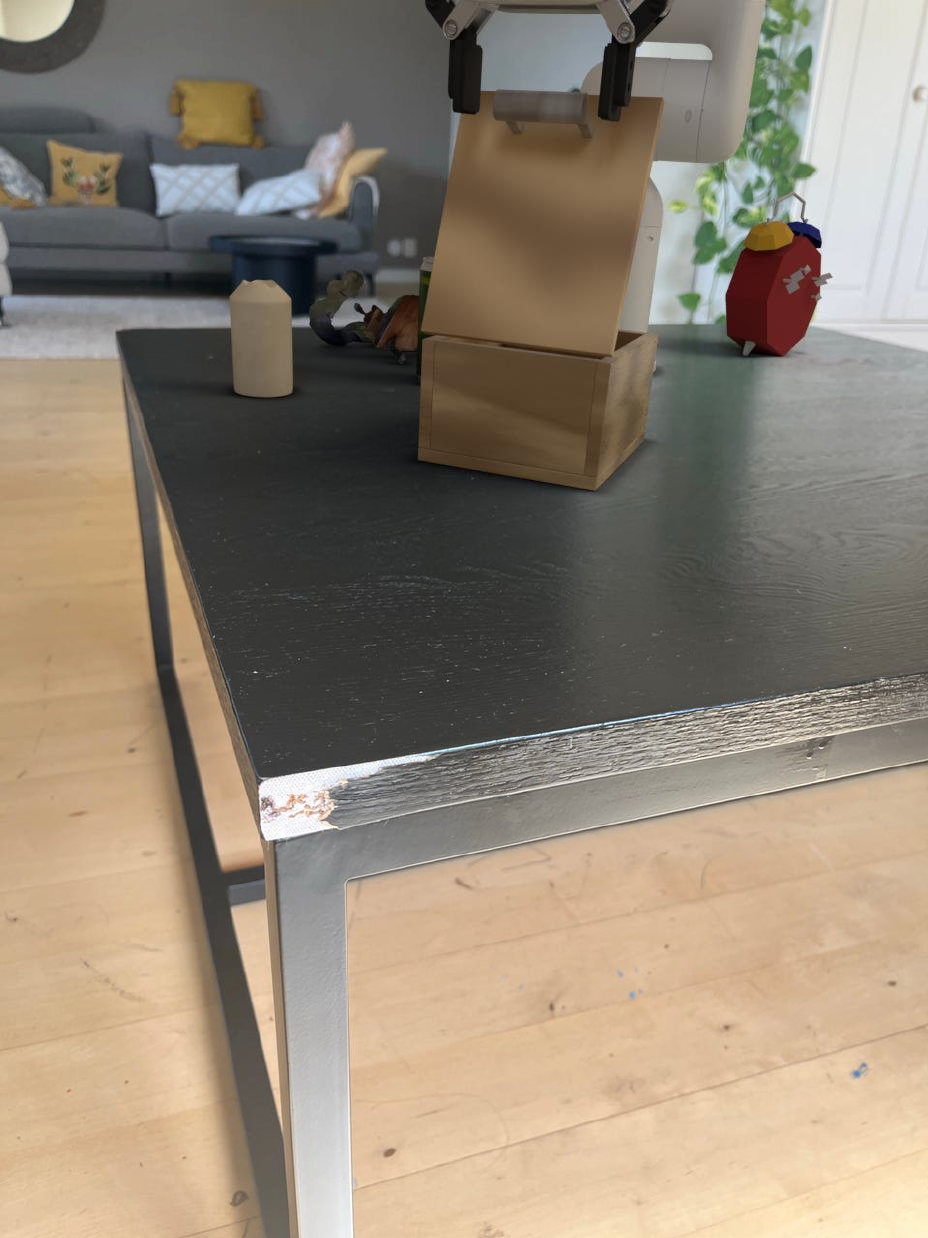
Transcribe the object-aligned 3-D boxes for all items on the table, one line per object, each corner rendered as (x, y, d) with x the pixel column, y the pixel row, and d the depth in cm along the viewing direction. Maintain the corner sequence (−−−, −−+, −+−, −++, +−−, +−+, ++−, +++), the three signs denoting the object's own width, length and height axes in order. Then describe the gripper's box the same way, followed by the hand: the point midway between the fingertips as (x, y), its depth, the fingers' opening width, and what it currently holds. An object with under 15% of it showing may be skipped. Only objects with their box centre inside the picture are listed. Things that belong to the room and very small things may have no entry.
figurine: (341, 379, 118) (288, 337, 106) (357, 312, 119) (305, 264, 107) (450, 390, 112) (406, 347, 101) (466, 320, 113) (424, 269, 101)
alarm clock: (768, 344, 136) (797, 190, 127) (825, 354, 131) (859, 195, 122) (714, 353, 126) (741, 187, 117) (773, 364, 121) (807, 191, 112)
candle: (280, 400, 88) (277, 285, 83) (224, 394, 88) (218, 280, 84) (301, 388, 92) (299, 280, 88) (247, 382, 93) (243, 275, 89)
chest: (490, 418, 86) (498, 314, 82) (643, 441, 82) (658, 333, 78) (417, 460, 73) (421, 339, 69) (595, 491, 68) (611, 363, 64)
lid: (468, 94, 67) (443, 56, 62) (665, 102, 63) (654, 61, 58) (424, 333, 69) (396, 314, 64) (613, 357, 64) (598, 339, 60)
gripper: (728, -215, 54) (681, 125, 61) (446, -198, 59) (435, 113, 67) (706, -267, 48) (657, 120, 55) (393, -242, 53) (388, 107, 61)
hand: (535, 116), depth 61 cm, fingers open, 9 cm apart
